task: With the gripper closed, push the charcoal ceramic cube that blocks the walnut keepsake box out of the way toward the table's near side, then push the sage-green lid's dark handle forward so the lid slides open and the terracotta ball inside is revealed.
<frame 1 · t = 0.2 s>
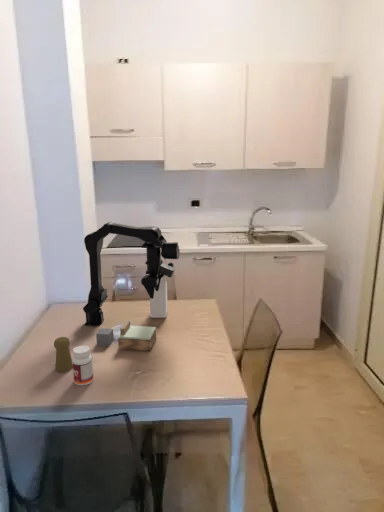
hand: (154, 294, 170), 14 cm above the table, fingers open, 9 cm apart
pill bottle: (83, 381, 133), on the table
lid: (137, 329, 156), point 6 cm above the table, slide at 0.0 cm
keepsake box: (137, 344, 157), on the table
ball: (131, 338, 157), point 2 cm above the table, touching keepsake box
milk carton: (159, 315, 186), on the table
pepper shaker: (64, 368, 141), on the table
cube: (105, 343, 159), on the table
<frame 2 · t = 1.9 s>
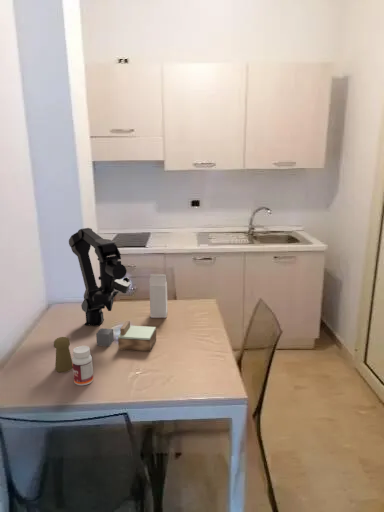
hand: (109, 310, 163), 10 cm above the table, fingers closed
nothing on the table moved.
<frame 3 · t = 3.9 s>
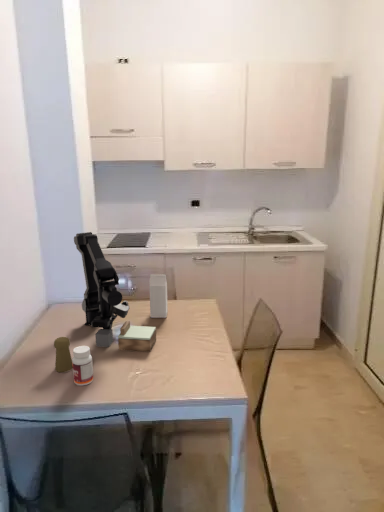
hand: (108, 334, 163), 2 cm above the table, fingers closed
cube: (104, 343, 159), on the table, touching gripper
everything else where it was.
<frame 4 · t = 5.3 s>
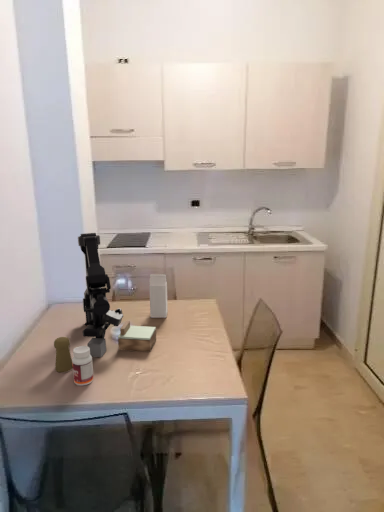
hand: (101, 343, 155), 2 cm above the table, fingers closed
cube: (97, 353, 151), on the table, touching gripper
everything else where it was.
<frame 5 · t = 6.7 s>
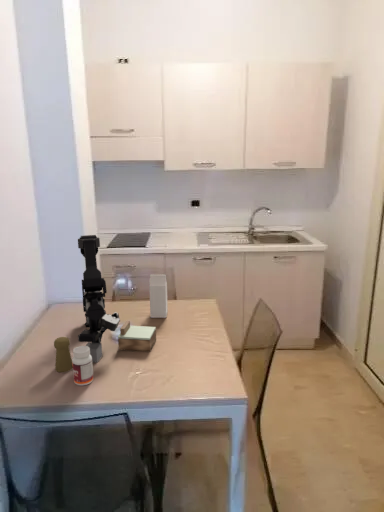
hand: (97, 348, 151), 2 cm above the table, fingers closed
cube: (93, 358, 147), on the table, touching gripper
everything else where it was.
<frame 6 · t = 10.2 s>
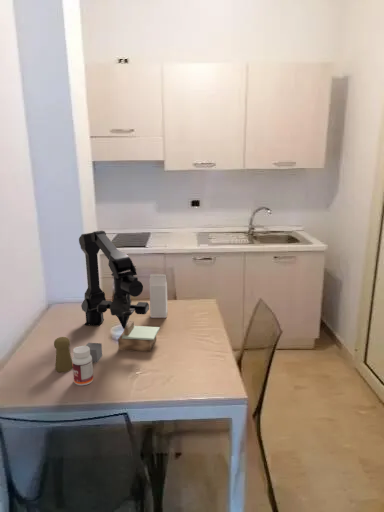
hand: (124, 328, 156), 7 cm above the table, fingers closed
lid: (141, 329, 156), point 6 cm above the table, slide at 1.5 cm, touching gripper
cube: (93, 358, 147), on the table
everything else where it was.
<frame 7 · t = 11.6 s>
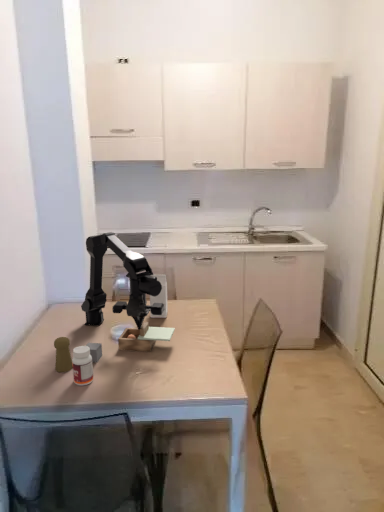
hand: (139, 329, 156), 7 cm above the table, fingers closed
lid: (156, 330, 155), point 6 cm above the table, slide at 7.5 cm, touching gripper
everything else where it was.
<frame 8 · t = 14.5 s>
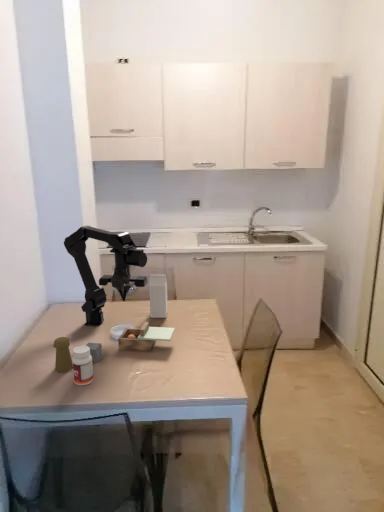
hand: (124, 300, 167), 13 cm above the table, fingers closed
lid: (156, 330, 155), point 6 cm above the table, slide at 7.6 cm
everything else where it was.
at the end: lid slide at 7.6 cm; cube inside the target area (1.0 cm from its centre), on the table; cube tilted 0° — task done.
